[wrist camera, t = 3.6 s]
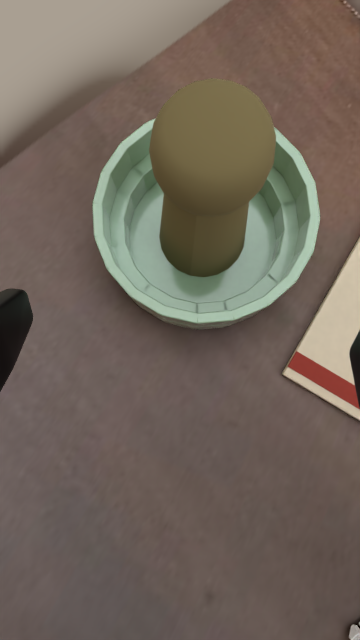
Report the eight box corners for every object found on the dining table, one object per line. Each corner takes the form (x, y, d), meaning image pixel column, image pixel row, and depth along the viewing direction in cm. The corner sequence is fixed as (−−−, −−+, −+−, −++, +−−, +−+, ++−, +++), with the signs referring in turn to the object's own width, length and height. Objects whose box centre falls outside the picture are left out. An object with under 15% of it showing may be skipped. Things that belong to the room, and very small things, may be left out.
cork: (190, 179, 23) (193, 20, 12) (261, 224, 23) (329, 99, 12) (142, 246, 23) (100, 143, 12) (214, 294, 22) (238, 231, 11)
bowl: (328, 206, 23) (359, 172, 19) (235, 365, 22) (246, 367, 18) (171, 120, 24) (168, 70, 20) (74, 267, 23) (49, 247, 19)
